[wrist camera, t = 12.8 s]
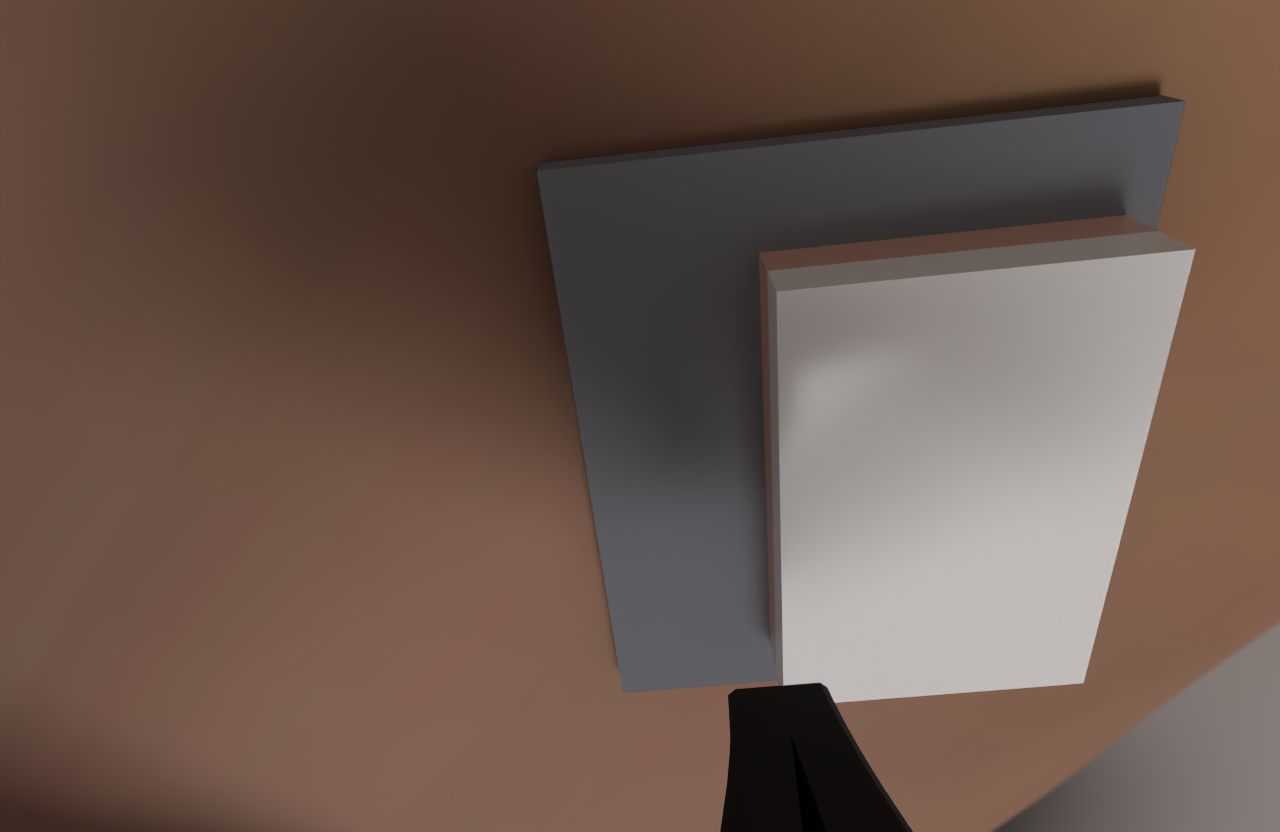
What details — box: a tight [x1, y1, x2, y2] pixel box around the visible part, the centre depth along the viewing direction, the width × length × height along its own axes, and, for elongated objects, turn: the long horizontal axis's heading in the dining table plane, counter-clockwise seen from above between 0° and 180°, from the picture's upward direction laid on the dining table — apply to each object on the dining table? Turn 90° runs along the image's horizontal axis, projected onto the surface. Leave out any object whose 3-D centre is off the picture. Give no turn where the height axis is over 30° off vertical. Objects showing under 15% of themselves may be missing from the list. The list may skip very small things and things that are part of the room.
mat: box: [537, 95, 1185, 693], centre depth 15 cm, size 12×10×1 cm
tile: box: [759, 215, 1195, 703], centre depth 14 cm, size 9×2×6 cm
